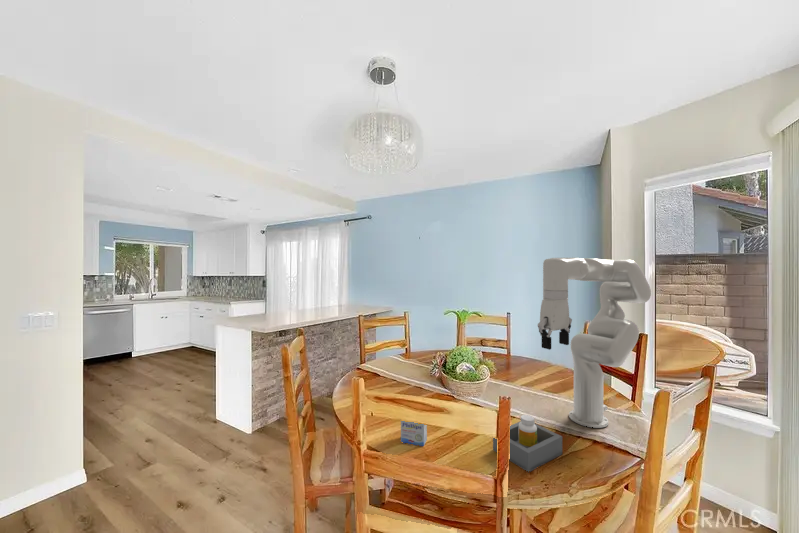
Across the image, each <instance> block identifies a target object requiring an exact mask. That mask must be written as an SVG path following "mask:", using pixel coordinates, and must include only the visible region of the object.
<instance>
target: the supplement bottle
mask: <svg viewBox="0 0 799 533" xmlns="http://www.w3.org/2000/svg"><path fill="white" fill-rule="evenodd" d="M520 421H521V422H520ZM520 421H519V422H520V423H519V426H518V444H520V445H522V446H524V447H525V448H530V447H532V446H534V445H536V444H537V427H536V425H535V424H536V423H535V417H533V415H531V414H530V415H529V414H522V415H520ZM534 423H535V424H534Z"/></svg>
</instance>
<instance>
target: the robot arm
mask: <svg viewBox="0 0 799 533" xmlns="http://www.w3.org/2000/svg"><path fill="white" fill-rule="evenodd" d="M542 266H543V267H542V268H543V269H542V274H543V275H542V284H543V286H542V295H543V296H542V300H541V305H540V312H539V313H540V315H539V322H538V323H537V327H538V332H539V334H540V336H541V348H542V349H545V350H549V351H550V350H552V336H551V335H552V332H554V331H559V332H558V333H559V335H558V336H559V337H558V338H559V339H558V342H559V345H560V344H561V345H565V346H569V345H570V352H571V355H572V356H571V357H572V361H573V409H572V410H570V411H569V413H568V416H569V419H570V420H571V421H572V422H574V423H576V424H578V425H581V426H583V427H586V426H587V427H586V428H592V427H593V428H594V429H603V428H606V427H607V426H608V425H609V419H608V417H606V416H605V415H604V412H605V411H608V406H607V405H606V404H604V372H603V370H602V369H603V368H602V367H601V365H603V366H607V367H612V368H618V367H619V368H620V367H622V366H623V365H624V363H625V362H626V360H628V358H629V356H630V354H631V353H632V351H633V349H634V348H635V347H636V344H637V343H638V340H639V334H640V333H639V332H640V331H639V327H638V325H637V324H636V323H635V322H634V321H632V320H629V319H625V318H626V317H625V316H626V315H625V312H624V310H623V309H622V307H621V306H620V305H619V304H618V302H621V303H631V304H645V303H647V302H648V301H649V300H650V298H651V296H652V291H651V290H652V288H651V287H650V284H649V281H648V279H647V278H646V276H645V273H644V271H643V269H642V268H641V267H640V265H639V264H638V263H637V262H636V261H634V260H632V259H604V258H603V259H601V258H595V257H594V258H593V257H591V258H589V257H586V258H582V257H580V258H579V257H550V258H546V259H544V260H543V262H542ZM569 280H570V281H571V280H573V281H582V282H602V284H601V285H600V287H599V300H600V309H599V310H598V312H597V314H596V315H595V316H594V318H592V320H591V321H590V323H589V324H588V326H587V333H578V334H575V335H574V336H573V337H572V338H571V340H570V332H571V330H570V329H571V327H572V322H573V319H572V318H571V317H570V307H569ZM593 428H592V429H593Z"/></svg>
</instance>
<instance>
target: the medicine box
mask: <svg viewBox="0 0 799 533" xmlns="http://www.w3.org/2000/svg"><path fill="white" fill-rule="evenodd" d="M427 428H428V424H427V425H424V424H418V423H414V422H405V421H401V420H400V442H403V443H402V444H405V443H408V444H407V445H411V444H413V445H412V446H418V445H419V447H424V446H425V444H426V442H427V440H428V432H427V431H428V429H427Z"/></svg>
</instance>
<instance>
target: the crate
mask: <svg viewBox="0 0 799 533" xmlns="http://www.w3.org/2000/svg"><path fill="white" fill-rule="evenodd" d="M520 422H521V420H520V421H518V422H515V423H514V424H510V425H511V426H510V425H509V426H510V460H509V461H510V462H512V463H513V464H514V465H517V467H519V468H520V469H522V470H524V471H525V470H526V471H525V472H527V471H528V472H527V473H530V472H533V471H534V470H535V469H538V468H539V466H540V467H542V466H543V465H545V464H547V463H549V462H551V461H552V460H554V459H556V458H558V457H560V456H561V455H563V435H561V434H558V433H556V432H554V431H552V430H550V429H548V428H546V427H543V426H542V425H540V424H537V423H534V424H535V425H536V427H537V444H536V445H534V446H532V447H530V448H525V447H524V446H522V445H520V444H518V426H519V423H520ZM492 450H493V451H494V452H495V453H497V439H495V438H493V437H492ZM537 467H538V468H537ZM529 471H530V472H529Z"/></svg>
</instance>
